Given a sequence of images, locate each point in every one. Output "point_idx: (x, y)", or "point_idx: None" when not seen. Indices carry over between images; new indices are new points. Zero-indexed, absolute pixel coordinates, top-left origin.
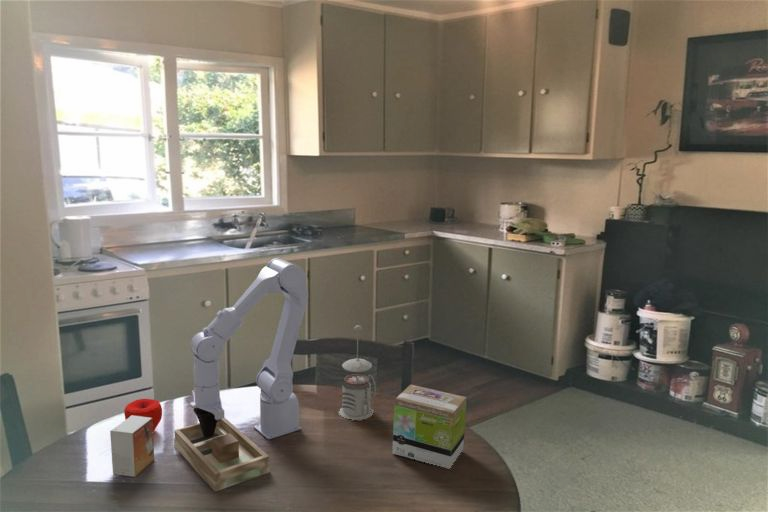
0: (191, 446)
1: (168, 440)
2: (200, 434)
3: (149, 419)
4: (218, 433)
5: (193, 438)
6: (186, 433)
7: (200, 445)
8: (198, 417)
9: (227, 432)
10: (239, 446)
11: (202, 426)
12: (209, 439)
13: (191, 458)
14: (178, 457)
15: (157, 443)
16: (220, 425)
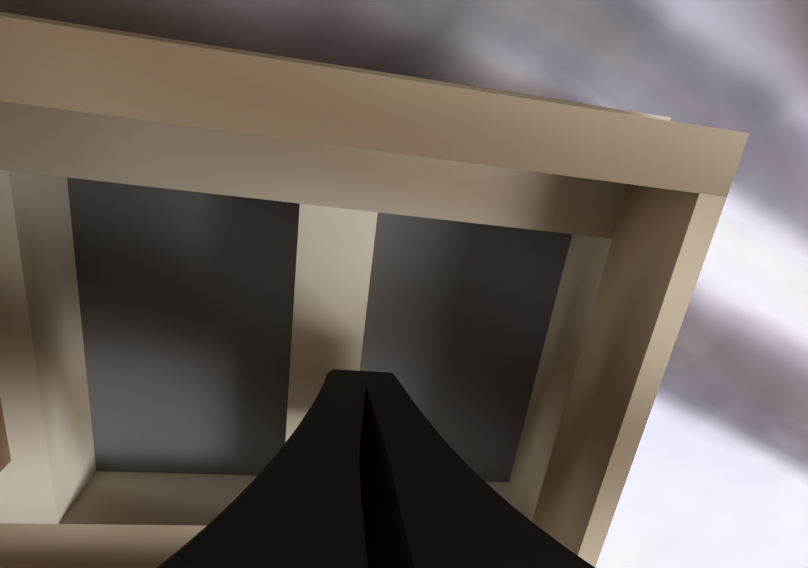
0: (66, 56)
1: (741, 131)
2: (552, 380)
3: None
4: None
5: (561, 308)
6: (619, 267)
7: (297, 268)
8: (466, 562)
9: None
10: (14, 538)
11: (345, 450)
12: None
13: (55, 22)
14: (375, 24)
15: (787, 11)
16: None
